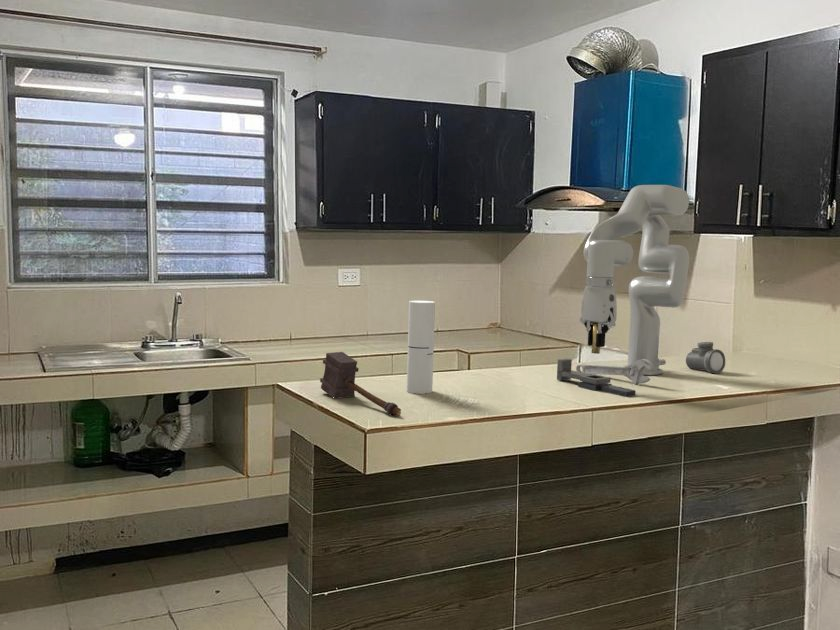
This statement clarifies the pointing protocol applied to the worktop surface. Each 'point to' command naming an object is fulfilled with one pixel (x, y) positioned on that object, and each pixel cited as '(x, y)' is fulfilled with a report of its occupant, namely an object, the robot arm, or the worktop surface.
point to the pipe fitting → (706, 358)
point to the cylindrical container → (420, 346)
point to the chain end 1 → (577, 373)
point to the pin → (595, 331)
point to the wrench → (620, 370)
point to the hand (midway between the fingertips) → (596, 345)
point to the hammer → (348, 381)
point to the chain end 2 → (607, 388)
